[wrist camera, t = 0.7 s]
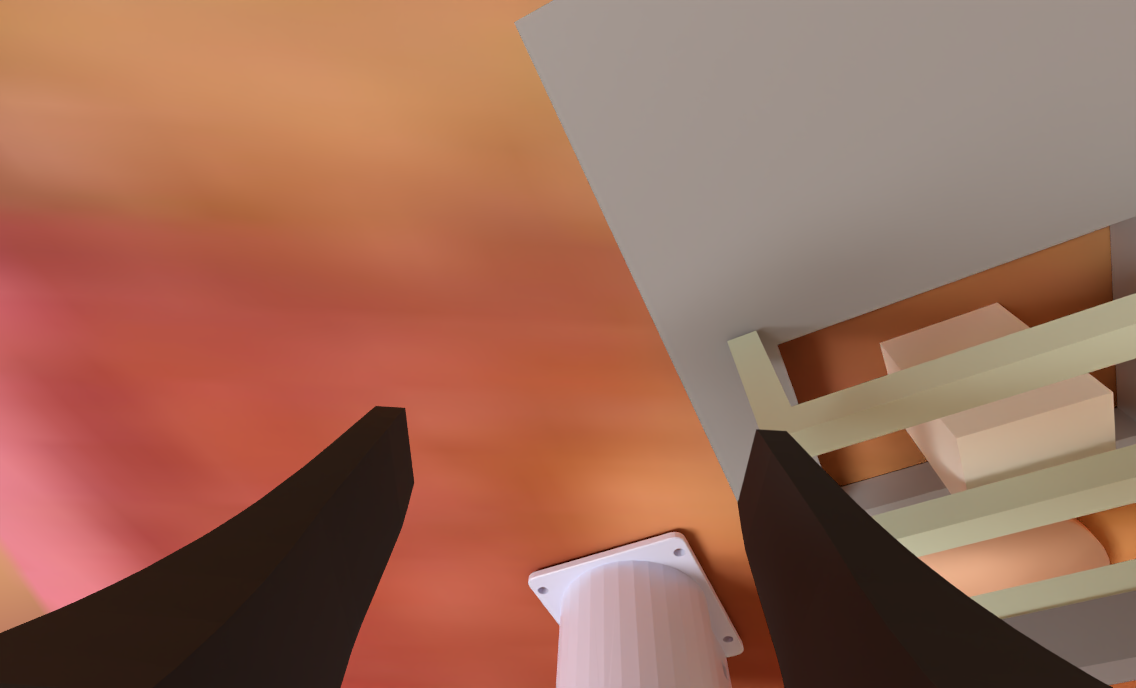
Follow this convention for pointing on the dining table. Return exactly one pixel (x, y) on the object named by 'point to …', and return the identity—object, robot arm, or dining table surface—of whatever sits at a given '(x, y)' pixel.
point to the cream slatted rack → (967, 380)
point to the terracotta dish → (1020, 558)
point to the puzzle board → (839, 165)
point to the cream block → (1003, 411)
